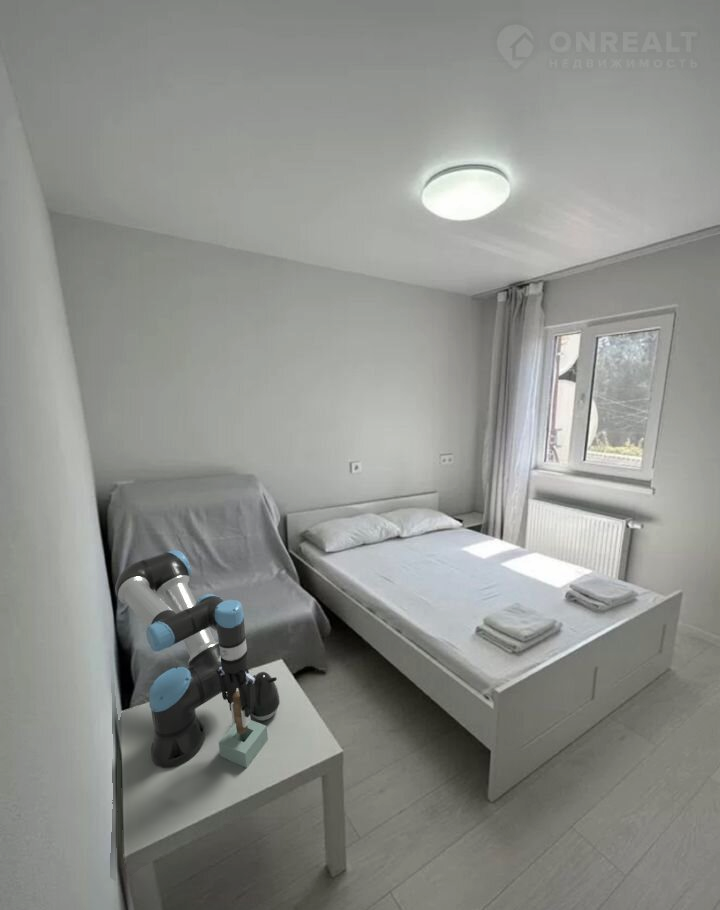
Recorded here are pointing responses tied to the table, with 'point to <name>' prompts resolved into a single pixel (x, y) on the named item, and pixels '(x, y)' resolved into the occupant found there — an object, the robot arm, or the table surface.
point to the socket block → (243, 743)
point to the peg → (238, 713)
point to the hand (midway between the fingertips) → (241, 721)
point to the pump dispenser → (265, 697)
